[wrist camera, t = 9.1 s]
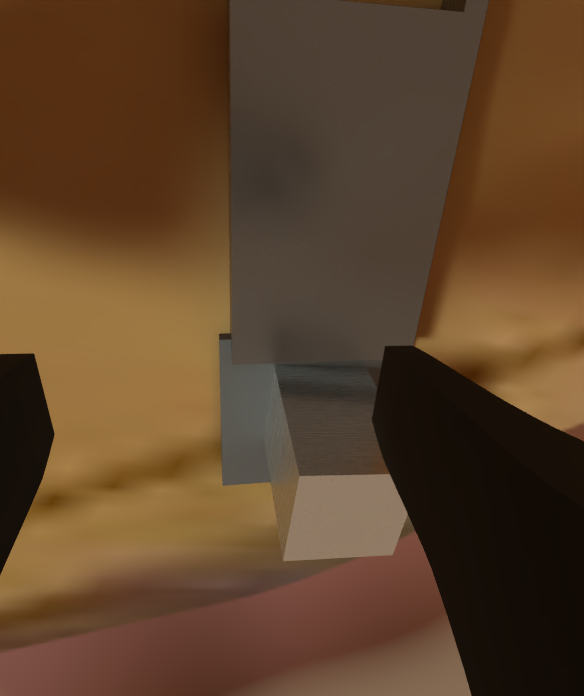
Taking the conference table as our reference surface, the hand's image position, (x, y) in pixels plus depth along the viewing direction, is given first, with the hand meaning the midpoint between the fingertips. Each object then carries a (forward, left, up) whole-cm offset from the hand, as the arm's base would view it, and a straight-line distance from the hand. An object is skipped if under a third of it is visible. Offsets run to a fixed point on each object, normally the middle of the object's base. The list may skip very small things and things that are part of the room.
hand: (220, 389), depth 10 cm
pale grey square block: (+5, -8, -10) cm, 14 cm away
